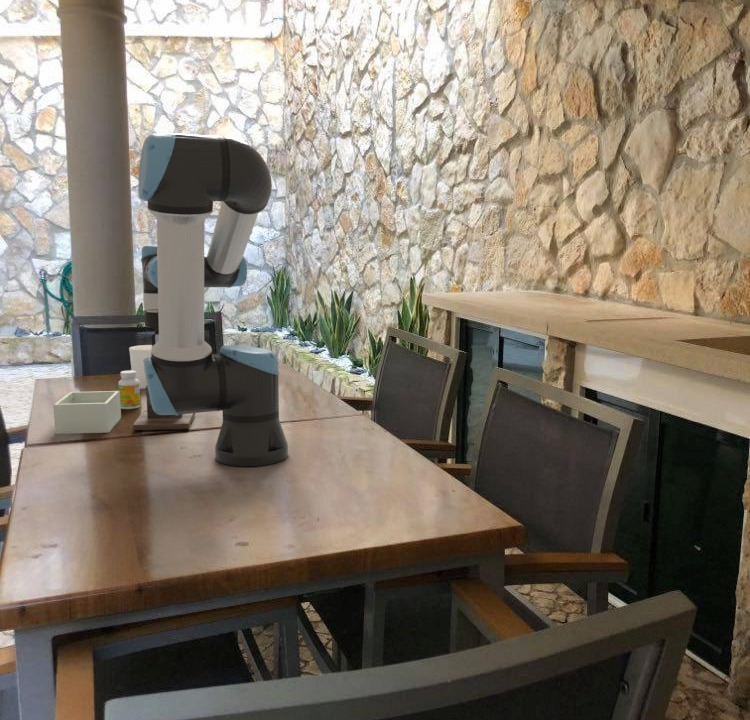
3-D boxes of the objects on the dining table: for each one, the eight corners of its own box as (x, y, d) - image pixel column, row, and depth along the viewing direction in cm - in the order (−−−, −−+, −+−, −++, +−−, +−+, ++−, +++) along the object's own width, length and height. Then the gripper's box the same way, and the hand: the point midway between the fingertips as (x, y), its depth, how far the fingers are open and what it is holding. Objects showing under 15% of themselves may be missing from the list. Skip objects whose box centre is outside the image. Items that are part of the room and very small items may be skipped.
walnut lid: (188, 431, 178) (187, 390, 176) (133, 433, 176) (131, 391, 174) (195, 416, 192) (194, 378, 190) (144, 417, 191) (142, 379, 189)
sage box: (108, 432, 176) (107, 403, 175) (55, 434, 174) (53, 404, 173) (121, 417, 189) (119, 390, 188) (71, 419, 188) (69, 392, 187)
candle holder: (131, 383, 232) (129, 345, 230) (163, 382, 235) (162, 344, 233) (130, 390, 223) (128, 350, 220) (165, 388, 225) (163, 349, 223)
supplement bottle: (115, 408, 199) (113, 373, 198) (126, 404, 204) (124, 369, 203) (133, 410, 198) (131, 374, 196) (144, 405, 203) (142, 370, 202)
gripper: (169, 315, 168) (173, 409, 172) (182, 305, 192) (186, 387, 195) (135, 316, 167) (139, 410, 171) (152, 305, 191) (156, 388, 194)
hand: (164, 398), depth 183 cm, fingers open, 12 cm apart
